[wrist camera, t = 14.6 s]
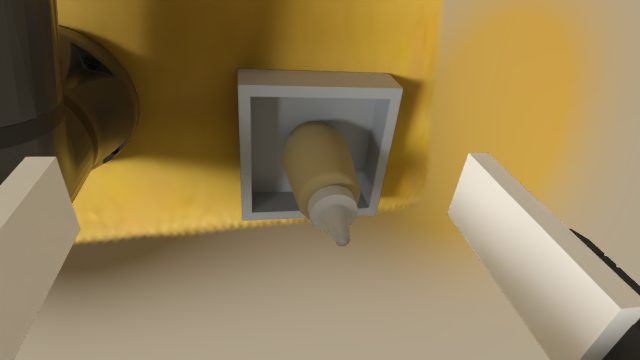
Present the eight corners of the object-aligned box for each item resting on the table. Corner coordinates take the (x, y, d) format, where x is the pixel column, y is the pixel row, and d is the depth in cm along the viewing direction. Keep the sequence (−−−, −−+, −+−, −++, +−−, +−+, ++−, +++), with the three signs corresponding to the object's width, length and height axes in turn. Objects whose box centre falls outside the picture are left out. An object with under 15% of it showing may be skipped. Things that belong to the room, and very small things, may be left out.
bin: (242, 196, 51) (242, 220, 47) (237, 68, 42) (237, 84, 38) (365, 192, 55) (376, 214, 50) (388, 73, 45) (403, 88, 41)
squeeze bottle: (299, 179, 50) (323, 286, 36) (265, 133, 46) (278, 234, 31) (353, 149, 49) (401, 247, 34) (324, 99, 45) (366, 187, 30)
